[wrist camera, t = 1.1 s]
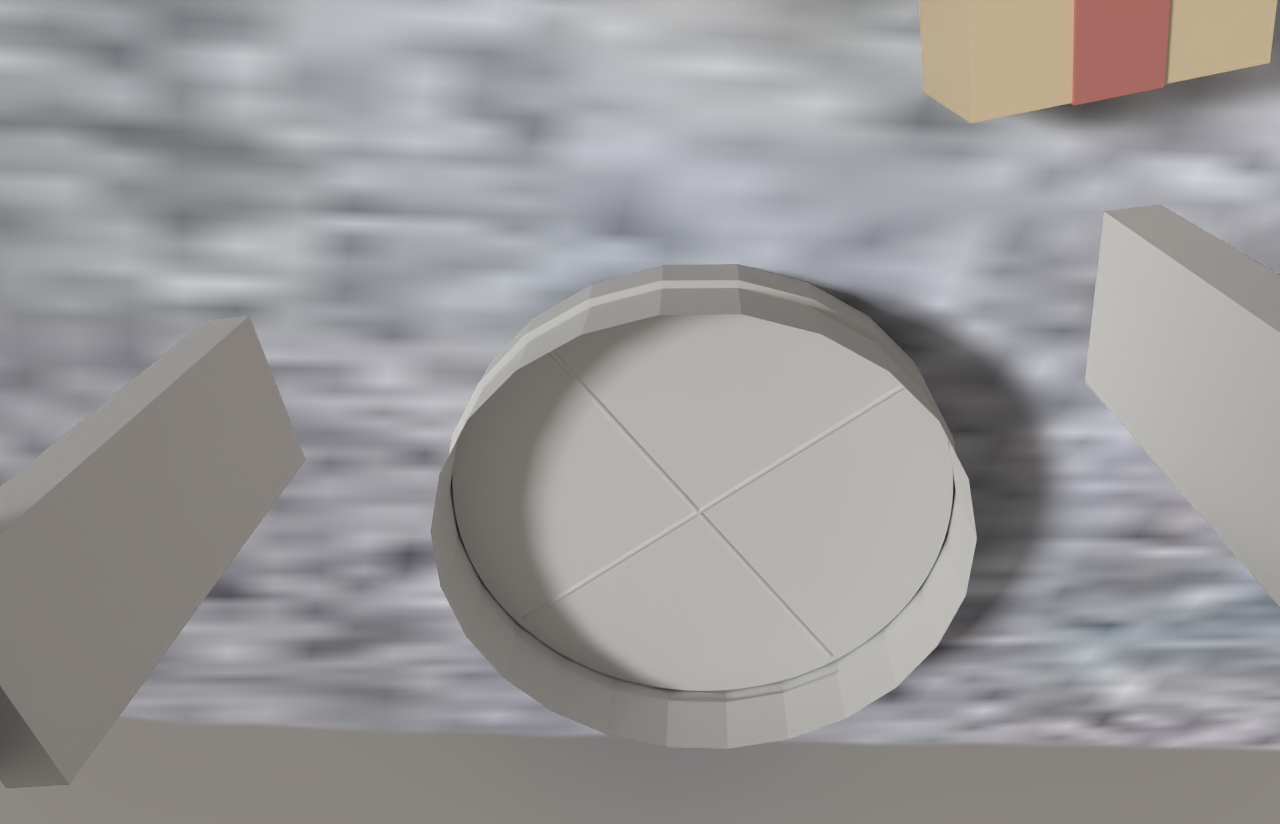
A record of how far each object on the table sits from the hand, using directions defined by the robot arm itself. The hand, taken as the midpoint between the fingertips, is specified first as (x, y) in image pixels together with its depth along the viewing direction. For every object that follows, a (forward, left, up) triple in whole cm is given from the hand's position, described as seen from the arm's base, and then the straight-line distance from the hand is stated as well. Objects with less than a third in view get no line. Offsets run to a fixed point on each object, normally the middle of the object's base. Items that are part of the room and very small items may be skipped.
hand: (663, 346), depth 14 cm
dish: (+16, -2, -20) cm, 26 cm away
